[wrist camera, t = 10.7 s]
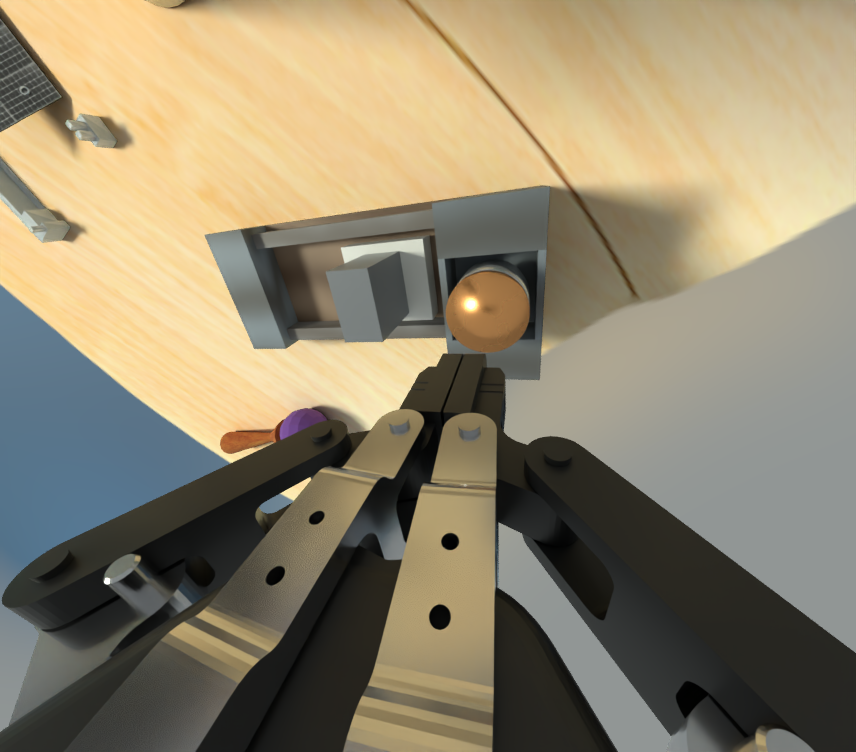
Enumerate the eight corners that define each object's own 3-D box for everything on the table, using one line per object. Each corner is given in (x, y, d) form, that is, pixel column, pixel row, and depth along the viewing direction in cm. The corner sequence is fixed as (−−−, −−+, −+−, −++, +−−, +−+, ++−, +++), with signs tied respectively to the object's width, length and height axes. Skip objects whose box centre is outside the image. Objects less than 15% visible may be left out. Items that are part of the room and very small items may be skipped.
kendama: (202, 435, 45) (293, 419, 36) (240, 416, 50) (328, 397, 41) (222, 470, 47) (314, 464, 37) (256, 448, 52) (346, 437, 42)
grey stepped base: (242, 228, 31) (147, 244, 23) (542, 185, 23) (550, 186, 15) (281, 331, 37) (215, 372, 29) (536, 325, 29) (539, 379, 21)
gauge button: (454, 262, 19) (441, 276, 16) (530, 255, 18) (531, 269, 15) (460, 329, 21) (449, 352, 18) (528, 328, 20) (528, 352, 17)
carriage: (351, 243, 27) (296, 263, 21) (429, 235, 25) (394, 253, 19) (368, 314, 30) (324, 351, 24) (438, 311, 28) (411, 350, 22)
